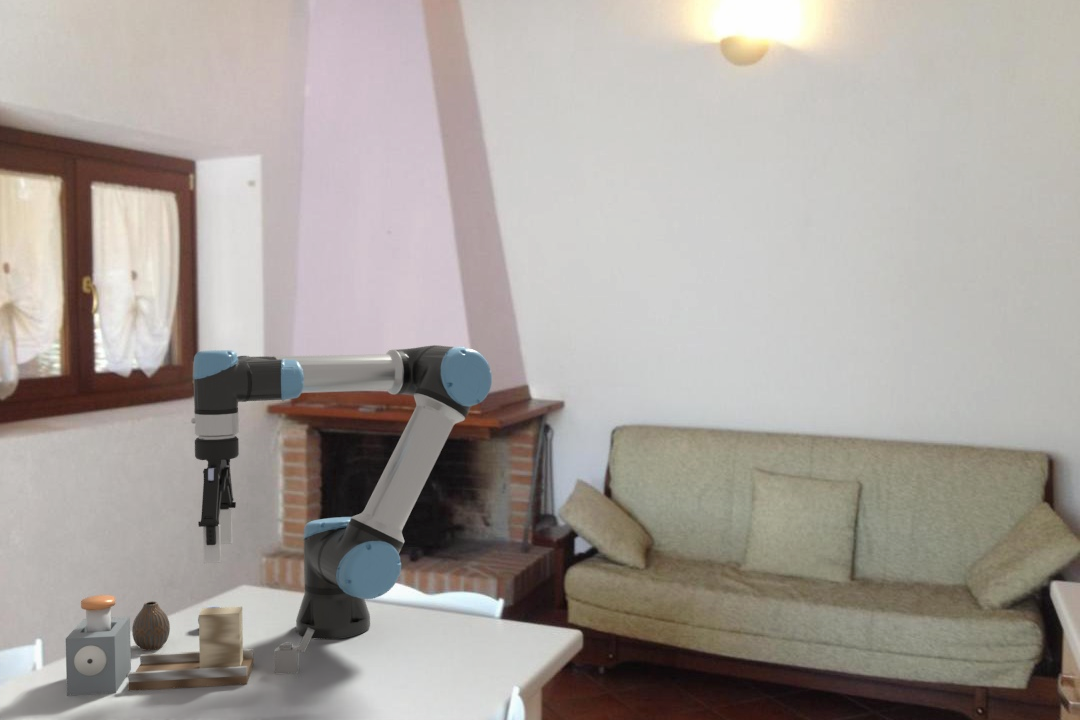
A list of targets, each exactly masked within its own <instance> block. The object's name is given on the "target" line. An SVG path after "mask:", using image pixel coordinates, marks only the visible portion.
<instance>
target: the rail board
mask: <svg viewBox="0 0 1080 720" xmlns="http://www.w3.org/2000/svg"><path fill="white" fill-rule="evenodd" d="M139 658H140V659H139V660H140V663H139V665H138V667H137V669H136V670H135V671H130V672H129V674H128V675H127V676H128V682H127V683H128V685H127V686H128V691H129V692H132V691H134V692H135V691H150V690H153V691H154V690H169V689H185V688H187V689H188V688H202V687H203V688H204V687H219V686H220V687H221V686H223V687H224V686H237V685H239V686H240V685H247V684H248V681H249V679H250V676H251V673H252V670H253V667H254V648H243V661H242V664H241V666H236V667H217V668H200V652H199V651H185V652H183V651H182V652H162V653H145V654H140V656H139Z"/></svg>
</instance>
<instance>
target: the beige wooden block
mask: <svg viewBox="0 0 1080 720" xmlns="http://www.w3.org/2000/svg"><path fill="white" fill-rule="evenodd" d="M198 617H199V623H198V633H199V634H198V636H199V637H198V639H199V640H198V641H199V645H198V646H199V647H198V648H199V650H198V652H200V668H217V667H236V666H241V664H242V661H243V649H244V645H243V644H244V642H243V641H244V638H243V637H244V635H243V634H244V632H243V628H244V627H243V606H228V607H227V606H225V607H223V606H221V607H220V608H208V607H205V608H204V607H203V608H202V609H201V610H200V612H199V614H198Z"/></svg>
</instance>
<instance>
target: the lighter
mask: <svg viewBox="0 0 1080 720" xmlns="http://www.w3.org/2000/svg"><path fill="white" fill-rule="evenodd" d="M314 631H315V630H313V629H311V628H308V629H307V631H306V633H305V635H304V636H302V637H303V638H302V639H301V642H300V644H299V646H293V642H282V643H281V644H279V645H278V647H275V649H274V674H276V675H279V674H281V675H282V674H285V675H286V674H298V673H299V670H300V665H299V664H300V662H299V661H300V658H299V656H300V655H299V653H300V652H302V653H303V654H304V653H305V651H306V649H307V648H308V645H309V643H310V642H311V639H312V638H311V637H312V635H313V633H314Z"/></svg>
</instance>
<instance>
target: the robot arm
mask: <svg viewBox="0 0 1080 720" xmlns="http://www.w3.org/2000/svg"><path fill="white" fill-rule="evenodd" d="M492 375H493V374H492V371H491V368H490V364H489V363H488V361H487V359H486V358H485V357H484V356H483V354H482V353H480V352H479V351H477V350H475V349H472V348H468V347H466V346H447V345H435V344H434V345H425V346H417V347H413V348H403V349H402V348H401V349H399V348H398V349H390V350H389V349H388V351H387V352H386V353H385V354H383V353H382V354H340V355H337V354H336V355H335V354H334V355H333V354H332V355H331V354H330V355H325V354H324V355H280V356H279V355H277V356H275V355H273V356H265V355H264V356H249V355H238V353H237V352H236V351H234V350H231V349H230V350H223V349H222V350H221V349H220V350H216V349H215V350H201V351H198V352H196V353H195V355H194V357H193V372H192V379H193V400H194V401H193V402H194V404H193V405H194V406H193V407H194V408H193V409H194V413H193V414H194V417H193V418H191V420H190V423H191V424H195V425H194V435H195V436H196V438H195V439H194V458H196V459H197V460H199V461H207V467H206V468H203V471H202V473H203V487H202V502H201V503H202V505H201V517H200V521H198V527H200V528H201V527H202V528H203V529H202V530H203V532H202V534H203V563H204V564H217V563H219V564H220V563H221V562H222V560H221V559H222V556H221V547H222V546H221V545H232V544H233V515H232V514H233V509H235V508H237V503H236V502H235V501H234V496H233V495H234V493H233V485H232V484H233V483H232V476H231V475H232V474H231V460H232V459H236V458H238V456H239V455H240V453H239V452H240V449H239V443H240V442H239V438H238V436H237V435H238V433H240V431H239V429H240V428H239V426H240V425H239V407H238V406H239V403H246V402H263V401H264V402H265V401H282V402H283V401H286V400H293V399H298V398H299V397H300V396H301V394H306V393H307V394H310V393H334V392H336V393H337V392H339V393H340V392H366V391H367V392H368V391H370V392H371V391H387V393H389V394H390V395H408V396H413V398H414V402H415V404H416V405H415V408H414V411H413V413H412V414H411V416H410V419H409V420H408V422H407V424H406V426H405V429H404V430H403V432H402V433H401V436H400V438H399V440H398V442H397V444H396V446H395V448H394V450H393V451H392V453H391V456H390V458H389V460H388V461H387V464H386V466H385V468H384V469H383V472H381V473H382V474H381V475H380V478H379V479H378V482H377V484H376V485H375V487H374V489H373V491H372V494H371V496H370V497H369V499H368V501H367V504H366V505H365V508H364V509H363V511H362V512H361V513H359V514H356V515H353V516H341V517H328V518H322V519H314V520H311V521H309V522H307V523H306V524H305V525H304V527H303V528H304V531H303V537H302V541H303V567H304V569H303V570H304V571H303V572H304V574H303V575H304V579H303V580H304V581H303V582H304V594H303V598H302V600H301V603H300V606H299V609H298V613H297V616H296V623H295V625H296V626H295V627H296V628H295V630H296V632H297V634H298V635H301V636H302V637H304V635H305V633H306V631H307V629H308V628H311V629H313V630H315V631H314V633H313V635H312V637H311V639H315V640H337V639H345V638H351V637H354V636H358V635H360V634H363V633H364V632H365V633H366V631H368V630H369V629H370V626H371V616H370V615H371V614H370V611H369V609H368V605H367V603H366V600H371V599H372V600H374V599H375V598H379V597H381V596H383V595H385V594H387V593H388V592H389V591H390V590H391V589H392V588H393V587H394V586H395V585H396V583H397V582H398V579H399V578H400V575H401V570H402V562H401V556H400V555H399V554H400V552H401V551H402V548H403V546H404V544H405V539H404V536H403V529H404V527H405V525H406V523H407V521H408V519H409V518H410V517H409V516H410V515H411V512H412V510H413V508H414V507H415V505H416V502H417V501H418V498H419V496H420V494H421V492H422V490H423V488H424V487H425V484H426V482H427V480H428V478H429V477H430V474H431V472H432V470H433V468H434V466H435V464H436V462H437V460H438V458H439V456H440V454H441V451H442V449H443V448H444V446H445V444H446V442H447V440H448V438H449V435H450V433H451V432H452V430H453V428H454V426H455V424H458V423H462V422H463V421H465V420H466V417H467V415H469V412H470V410H471V408H472V407H473V406H476V405H479V404H480V403H482V402H483V401H484V400H485V399H486V398H487V396H488V395H489V393H490V391H491V387H492V383H493V376H492ZM197 436H198V437H197Z"/></svg>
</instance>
